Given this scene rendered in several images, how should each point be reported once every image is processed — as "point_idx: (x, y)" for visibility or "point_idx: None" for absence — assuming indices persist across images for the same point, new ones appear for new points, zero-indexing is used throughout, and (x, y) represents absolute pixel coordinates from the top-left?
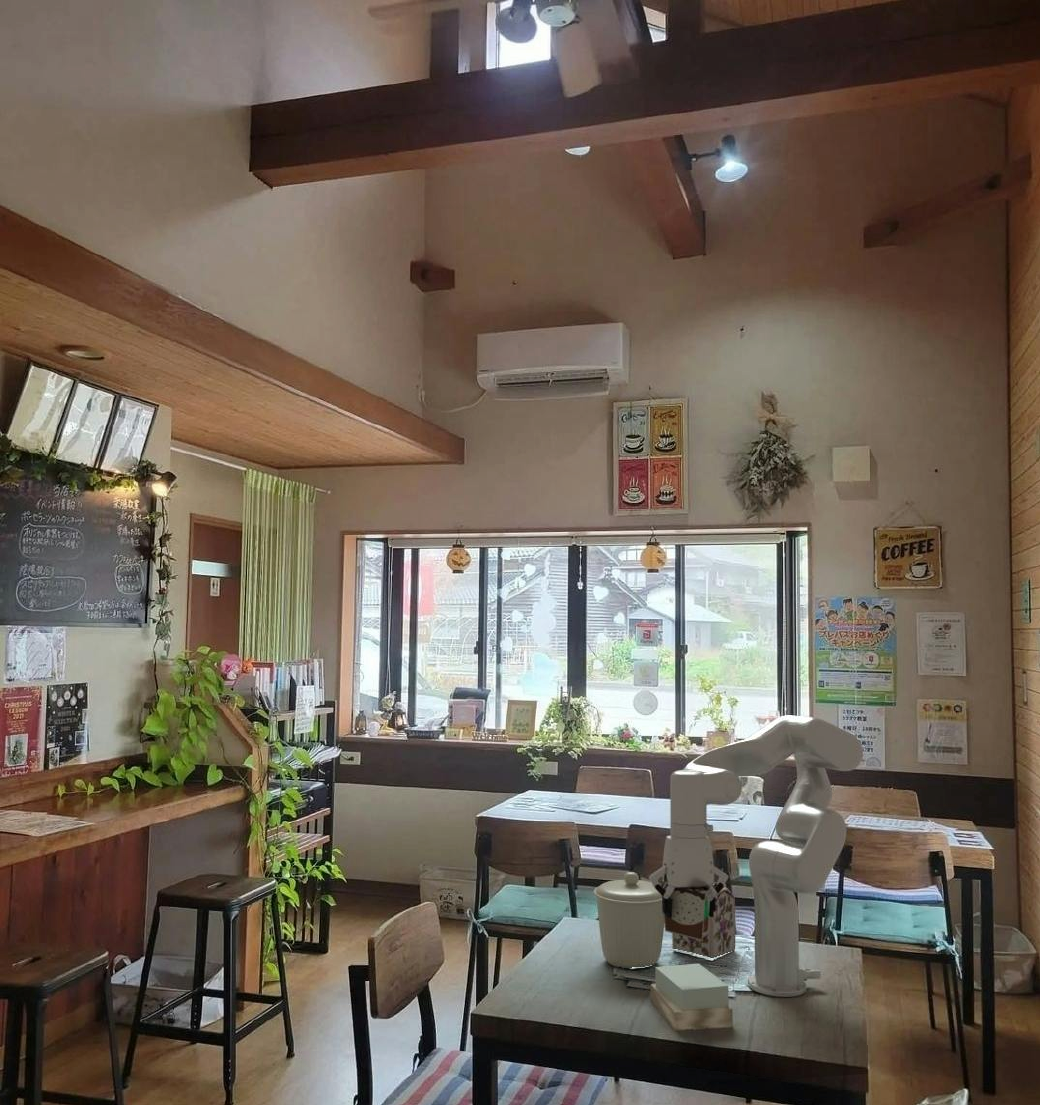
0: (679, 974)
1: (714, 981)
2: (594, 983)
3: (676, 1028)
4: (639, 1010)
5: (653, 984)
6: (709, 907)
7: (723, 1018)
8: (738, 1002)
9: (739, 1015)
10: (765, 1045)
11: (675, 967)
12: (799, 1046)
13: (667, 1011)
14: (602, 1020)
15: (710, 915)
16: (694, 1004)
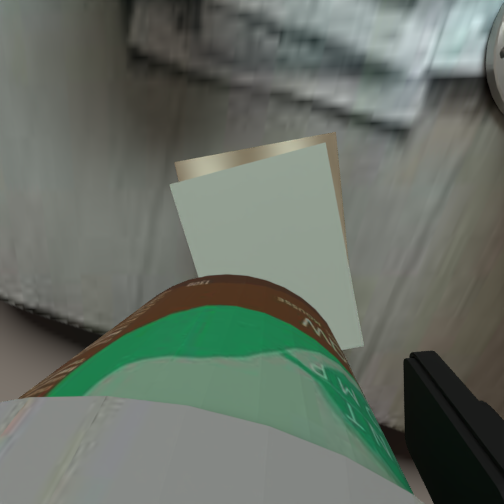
0: (238, 254)
1: (333, 313)
2: (40, 30)
3: None
4: (157, 225)
5: (181, 165)
6: (437, 498)
7: None
8: (409, 170)
9: (382, 253)
10: (382, 392)
11: (235, 186)
12: None
13: None
14: (79, 278)
15: (412, 452)
16: None
